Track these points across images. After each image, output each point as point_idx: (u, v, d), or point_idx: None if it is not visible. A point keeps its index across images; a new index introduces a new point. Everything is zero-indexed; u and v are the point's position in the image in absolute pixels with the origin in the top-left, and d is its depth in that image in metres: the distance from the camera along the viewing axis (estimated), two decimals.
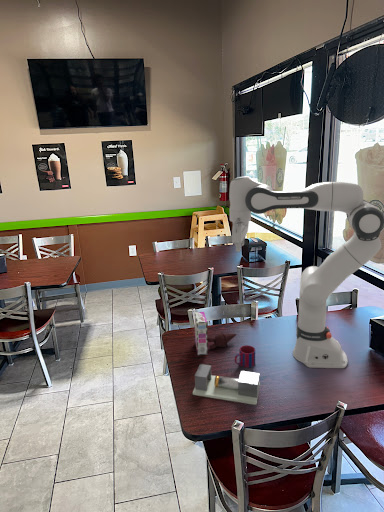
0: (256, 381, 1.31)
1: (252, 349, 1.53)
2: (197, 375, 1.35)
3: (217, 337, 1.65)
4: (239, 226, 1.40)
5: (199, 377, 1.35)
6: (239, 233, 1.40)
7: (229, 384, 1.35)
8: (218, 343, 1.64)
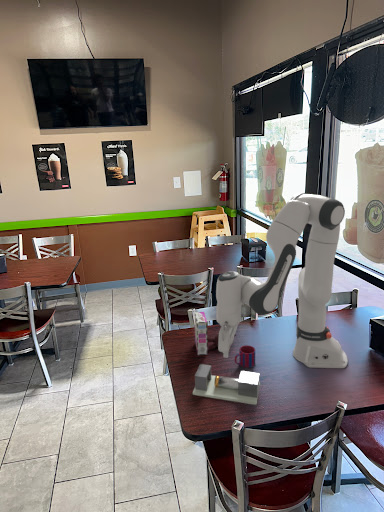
0: (256, 381, 1.31)
1: (252, 349, 1.53)
2: (197, 375, 1.35)
3: (216, 337, 1.65)
4: (227, 334, 1.21)
5: (199, 377, 1.35)
6: (226, 342, 1.20)
7: (229, 384, 1.35)
8: (217, 343, 1.64)
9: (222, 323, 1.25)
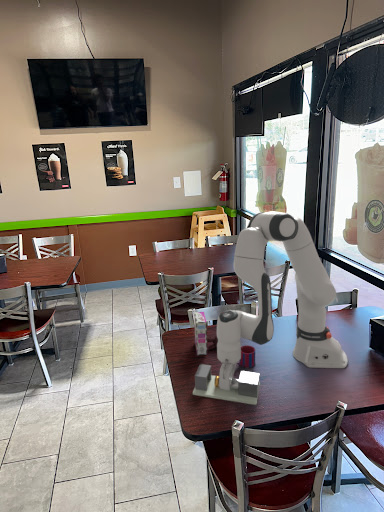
0: (256, 381, 1.31)
1: (252, 349, 1.53)
2: (197, 375, 1.35)
3: (216, 337, 1.65)
4: (227, 372, 1.25)
5: (199, 377, 1.35)
6: (227, 380, 1.25)
7: None
8: None
9: (223, 361, 1.30)
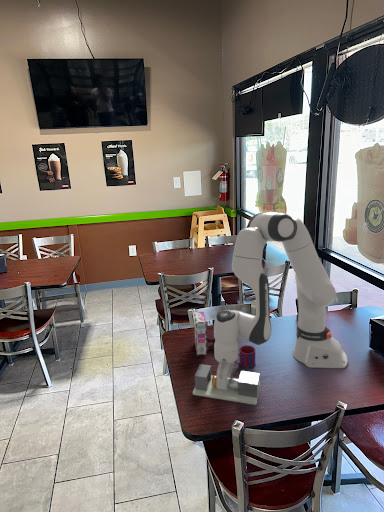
0: (256, 381, 1.31)
1: (252, 349, 1.53)
2: (197, 375, 1.35)
3: None
4: (224, 372, 1.25)
5: (199, 377, 1.35)
6: (224, 380, 1.25)
7: None
8: None
9: (220, 360, 1.30)
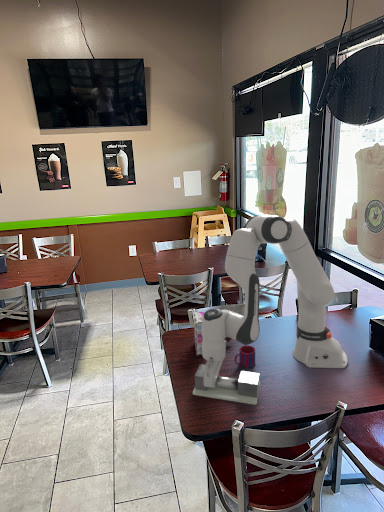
0: (256, 381, 1.31)
1: (252, 349, 1.53)
2: (197, 375, 1.35)
3: None
4: (211, 370, 1.27)
5: (199, 377, 1.35)
6: (211, 378, 1.26)
7: None
8: None
9: (207, 359, 1.31)
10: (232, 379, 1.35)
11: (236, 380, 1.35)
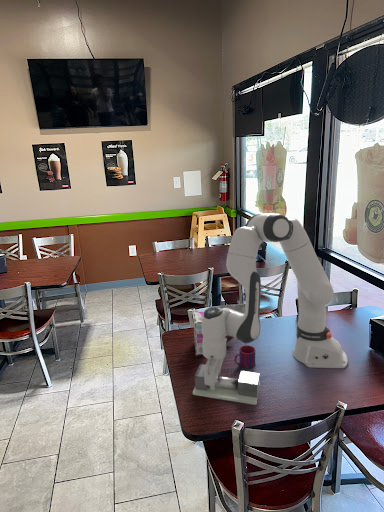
0: (256, 381, 1.31)
1: (252, 349, 1.53)
2: (197, 375, 1.35)
3: None
4: (212, 368, 1.26)
5: (199, 377, 1.35)
6: (212, 376, 1.26)
7: None
8: None
9: (208, 357, 1.31)
10: (232, 379, 1.35)
11: (236, 380, 1.35)
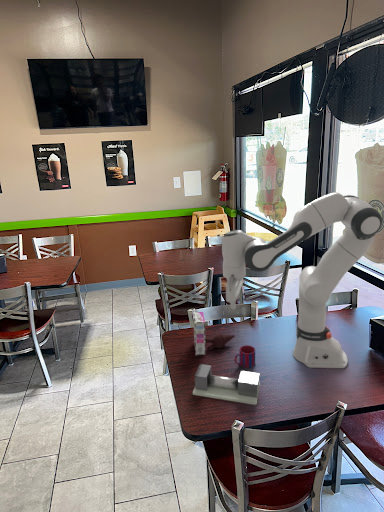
0: (256, 381, 1.31)
1: (252, 349, 1.53)
2: (197, 375, 1.35)
3: (215, 338, 1.64)
4: (233, 285, 1.33)
5: (199, 377, 1.35)
6: (233, 292, 1.33)
7: (214, 381, 1.36)
8: (216, 344, 1.64)
9: (228, 277, 1.38)
10: (232, 379, 1.35)
11: (236, 380, 1.35)
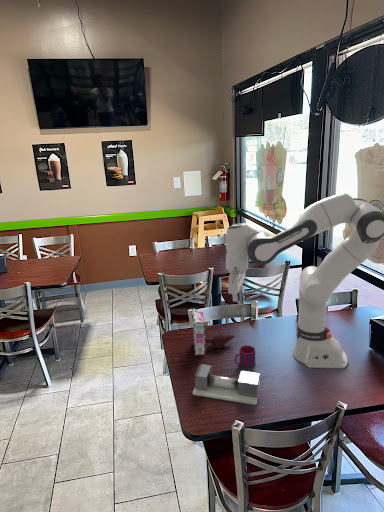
0: (256, 381, 1.31)
1: (252, 349, 1.53)
2: (197, 375, 1.35)
3: (215, 338, 1.64)
4: (236, 277, 1.34)
5: (199, 377, 1.35)
6: (236, 284, 1.34)
7: (214, 381, 1.36)
8: (216, 344, 1.64)
9: (231, 269, 1.39)
10: (232, 379, 1.35)
11: (236, 380, 1.35)
